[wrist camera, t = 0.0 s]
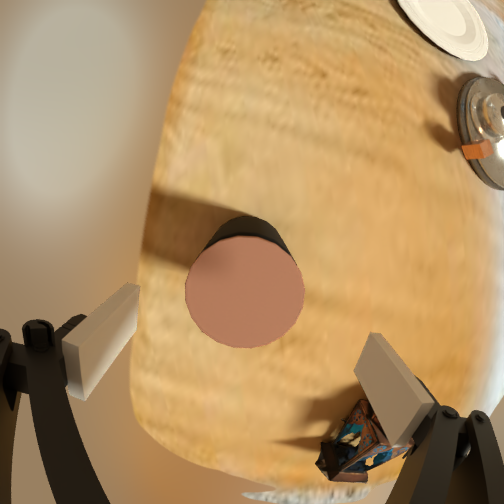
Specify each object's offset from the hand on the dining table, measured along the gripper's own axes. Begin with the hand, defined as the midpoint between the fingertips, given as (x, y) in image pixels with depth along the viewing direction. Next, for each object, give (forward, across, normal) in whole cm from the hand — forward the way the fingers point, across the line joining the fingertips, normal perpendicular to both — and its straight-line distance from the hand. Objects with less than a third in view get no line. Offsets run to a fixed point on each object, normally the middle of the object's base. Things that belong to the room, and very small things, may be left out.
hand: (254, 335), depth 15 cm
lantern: (+28, +33, -31) cm, 53 cm away
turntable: (+26, +41, +31) cm, 57 cm away
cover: (+25, +36, +32) cm, 54 cm away
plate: (+28, +27, +55) cm, 68 cm away
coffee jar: (+28, 0, -2) cm, 28 cm away
